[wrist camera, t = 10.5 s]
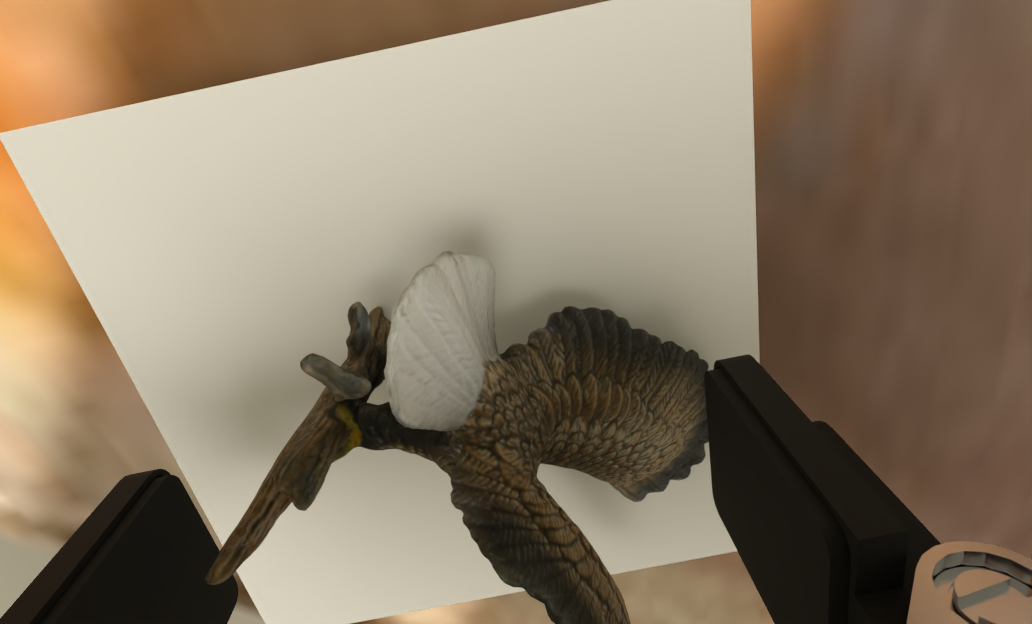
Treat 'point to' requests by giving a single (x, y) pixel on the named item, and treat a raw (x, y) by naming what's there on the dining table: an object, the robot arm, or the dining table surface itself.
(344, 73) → the stand
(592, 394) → the eagle figurine
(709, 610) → the dining table surface
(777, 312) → the dining table surface
